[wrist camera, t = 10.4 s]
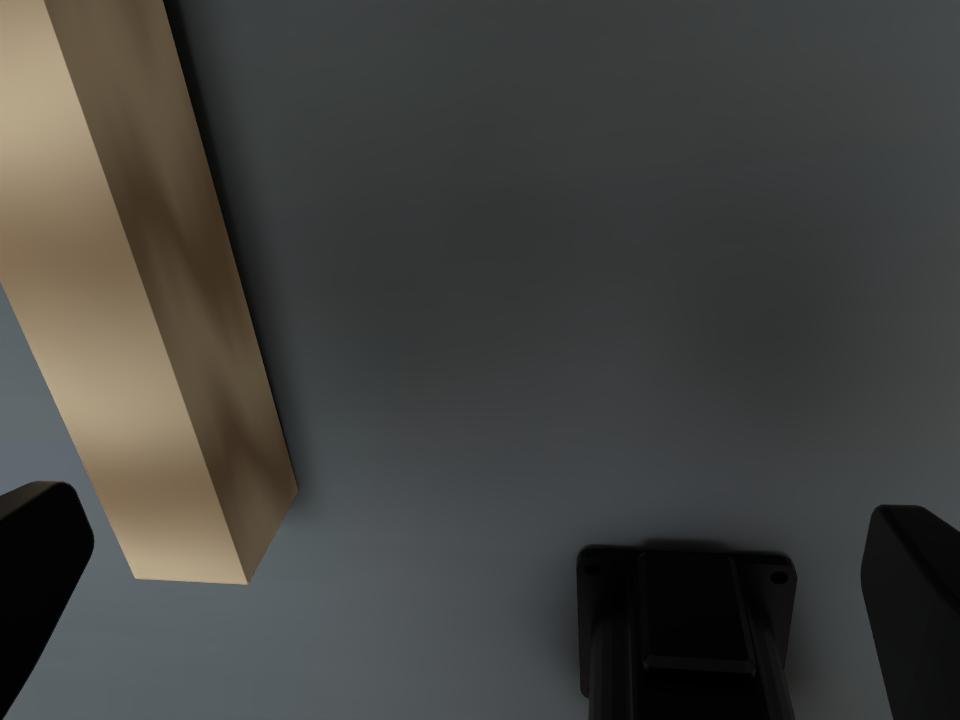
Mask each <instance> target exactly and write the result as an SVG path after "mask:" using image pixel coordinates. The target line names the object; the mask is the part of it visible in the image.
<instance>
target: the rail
mask: <svg viewBox="0 0 960 720" xmlns="http://www.w3.org/2000/svg"><path fill="white" fill-rule="evenodd" d="M0 282H1V284H2V286H3V288H4V291H5V293H6V295H7V297H8V299H9V302H10V304H11V306H12V308H13V310H14V313H15V315H16V317H17V319H18V321H19V324H20V326H21V328H22V330H23V332H24V335H25V337H26V339H27V341H28V344H29V346H30V348H31V350H32V352H33V355H34V357H35V359H36V361H37V363H38V366H39V368H40V370H41V372H42V374H43V377H44V379H45V381H46V383H47V385H48V388H49V390H50V392H51V394H52V396H53V399H54V401H55V403H56V405H57V407H58V410H59V412H60V414H61V416H62V418H63V421H64V423H65V425H66V427H67V429H68V432H69V434H70V436H71V438H72V440H73V443H74V445H75V447H76V449H77V451H78V454H79V456H80V458H81V460H82V462H83V465H84V467H85V469H86V471H87V473H88V476H89V478H90V480H91V482H92V484H93V487H94V489H95V491H96V493H97V495H98V498H99V500H100V502H101V504H102V506H103V509H104V511H105V513H106V515H107V517H108V520H109V522H110V524H111V526H112V528H113V531H114V533H115V535H116V537H117V539H118V542H119V544H120V546H121V548H122V550H123V553H124V555H125V557H126V559H127V561H128V564H129V566H130V568H131V570H132V572H133V575H134V577H135V579H153V580H172V581H190V582H209V583H228V584H247V585H248V583H249V582H250V580H251V578H252V576H253V574H254V572H255V570H256V569H257V567H258V565H259V563H260V561H261V559H262V557H263V556H264V554H265V552H266V550H267V548H268V546H269V544H270V543H271V541H272V539H273V537H274V535H275V533H276V531H277V530H278V528H279V526H280V524H281V522H282V520H283V518H284V517H285V515H286V513H287V511H288V509H289V507H290V505H291V504H292V502H293V500H294V498H295V496H296V494H297V492H298V487H297V484H296V480H295V476H294V473H293V469H292V466H291V462H290V458H289V455H288V451H287V448H286V444H285V440H284V437H283V433H282V429H281V426H280V422H279V419H278V415H277V411H276V408H275V404H274V401H273V397H272V393H271V390H270V386H269V383H268V379H267V375H266V372H265V368H264V364H263V361H262V357H261V354H260V350H259V346H258V343H257V339H256V336H255V332H254V328H253V325H252V321H251V318H250V314H249V310H248V307H247V303H246V299H245V296H244V292H243V289H242V285H241V281H240V278H239V274H238V271H237V267H236V263H235V260H234V256H233V253H232V249H231V245H230V242H229V238H228V234H227V231H226V227H225V224H224V220H223V216H222V213H221V209H220V206H219V202H218V198H217V195H216V191H215V188H214V184H213V180H212V177H211V173H210V170H209V166H208V162H207V159H206V155H205V151H204V148H203V144H202V141H201V137H200V133H199V130H198V126H197V123H196V119H195V115H194V112H193V108H192V105H191V101H190V97H189V94H188V90H187V86H186V83H185V79H184V76H183V72H182V68H181V65H180V61H179V58H178V54H177V50H176V47H175V43H174V40H173V36H172V32H171V29H170V25H169V21H168V18H167V14H166V11H165V7H164V3H163V0H0Z"/></svg>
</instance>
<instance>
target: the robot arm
mask: <svg viewBox="0 0 960 720" xmlns="http://www.w3.org/2000/svg"><path fill="white" fill-rule="evenodd" d="M93 549H94V534H93V531H92V529H91V526H90V524H89V521H88V519H87V517H86V514H85V512H84V509H83V507H82V504H81V502H80V500H79V497H78V495H77V492H76V491H75V489H74V488H73V487H72V486H71V485H70V484H68V483H66V482H62V481H35V482H31V483H28V484H26V485H24V486H21V487H19V488H17V489H15V490H12V491H10V492H8V493H6V494H4V495H1V496H0V720H3V718H4V717H5V715H6V714H7V712H8V710H9V709H10V707H11V706H12V704H13V702H14V701H15V699H16V698H17V696H18V694H19V693H20V691H21V689H22V688H23V686H24V684H25V683H26V681H27V679H28V678H29V676H30V674H31V673H32V671H33V669H34V667H35V665H36V664H37V662H38V660H39V658H40V656H41V654H42V652H43V651H44V649H45V647H46V645H47V643H48V641H49V639H50V637H51V635H52V633H53V631H54V629H55V627H56V625H57V623H58V621H59V619H60V617H61V615H62V613H63V611H64V609H65V607H66V605H67V603H68V601H69V599H70V597H71V595H72V593H73V591H74V589H75V587H76V585H77V583H78V581H79V579H80V577H81V575H82V573H83V571H84V569H85V567H86V565H87V563H88V561H89V560H90V557H91V555H92V552H93ZM590 563H594V564H597V565H598V566H595V567H592V566H589V565H587V564H590ZM778 571H781V572H783V573H782V574H778V575H775V574H773V573H775V572H778ZM796 583H797V574H796V570H795V567H794V564H793V563H792V561H791V560H790V559H788V558H786V557H783V556H774V555H749V554H724V553H698V552H673V551H648V550H622V549H597V548H591V549H586V550H583V551H581V553H580V554H579V555H578V558H577V598H578V627H579V656H580V686H581V692H582V694H583V695H584V696H585V697H587V698H588V699H589V716H588V720H795V715H794V711H793V707H792V703H791V699H790V695H789V691H788V687H787V683H786V679H785V675H784V666H785V659H786V652H787V645H788V638H789V631H790V624H791V617H792V611H793V604H794V597H795V590H796ZM861 586H862V592H863V596H864V600H865V604H866V609H867V613H868V617H869V621H870V625H871V629H872V634H873V638H874V642H875V646H876V650H877V654H878V659H879V663H880V667H881V671H882V675H883V679H884V683H885V688H886V692H887V696H888V700H889V704H890V708H891V712H892V716H893V720H960V532H959V531H958V530H956V529H955V528H953V527H952V526H951V525H949V524H948V523H946V522H945V521H943V520H942V519H940V518H939V517H938V516H936V515H935V514H933V513H932V512H930V511H929V510H927V509H925V508H924V507H921V506H917V505H886V504H883V505H880V506H878V507H876V508H875V509H874V511H873V513H872V515H871V519H870V524H869V529H868V534H867V539H866V544H865V549H864V554H863V559H862V565H861Z"/></svg>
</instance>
